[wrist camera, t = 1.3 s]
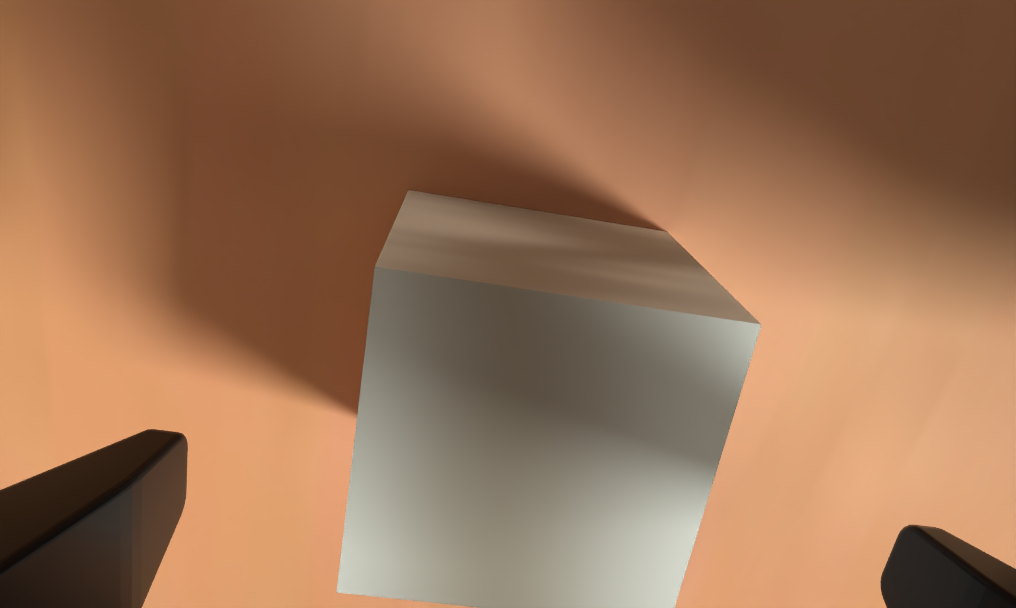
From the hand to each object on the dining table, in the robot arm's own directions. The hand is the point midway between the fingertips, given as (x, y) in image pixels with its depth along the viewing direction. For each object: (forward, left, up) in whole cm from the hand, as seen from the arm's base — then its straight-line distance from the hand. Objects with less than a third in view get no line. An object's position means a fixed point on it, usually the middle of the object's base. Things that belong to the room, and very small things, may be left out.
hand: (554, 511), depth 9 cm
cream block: (0, 0, -6) cm, 6 cm away
